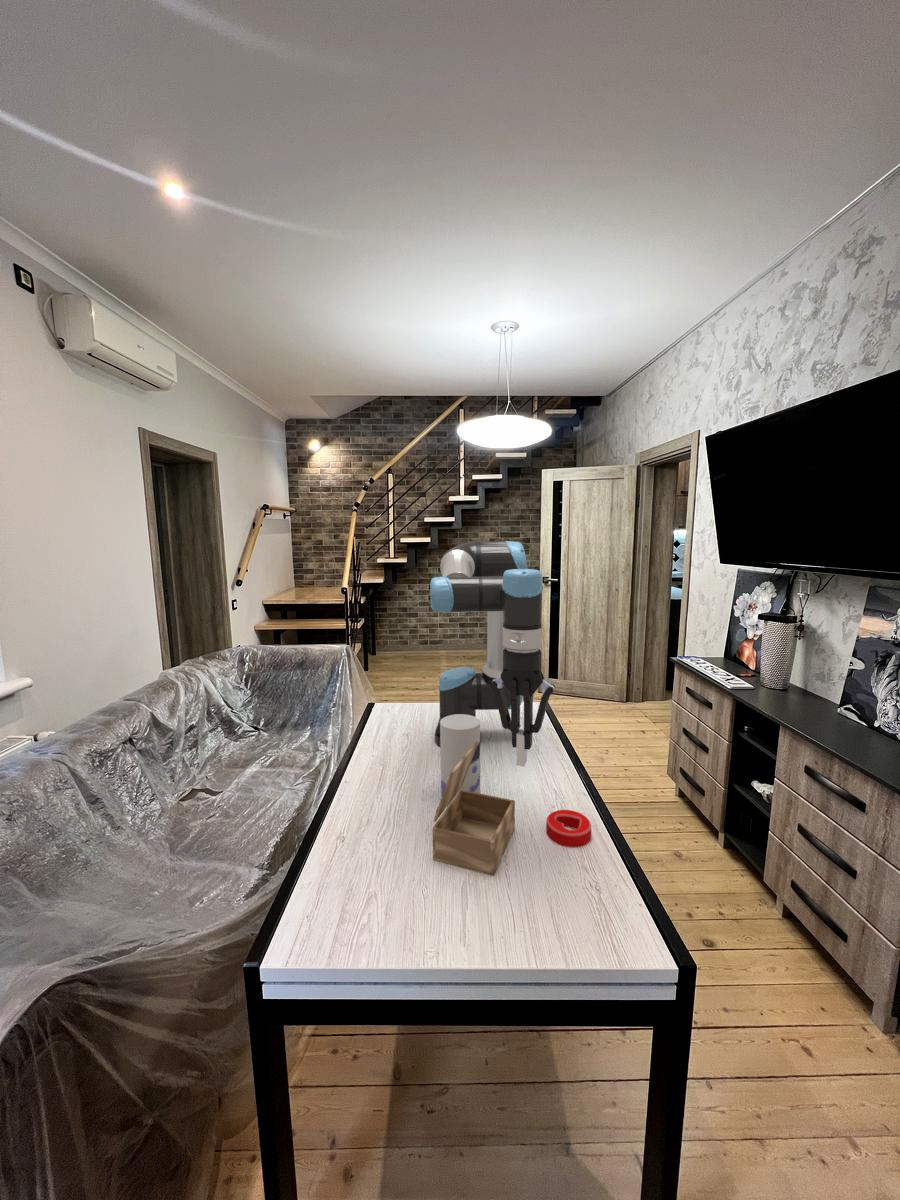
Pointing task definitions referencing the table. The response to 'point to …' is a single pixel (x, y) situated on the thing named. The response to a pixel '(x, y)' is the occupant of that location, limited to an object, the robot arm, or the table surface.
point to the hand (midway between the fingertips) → (521, 762)
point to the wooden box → (474, 831)
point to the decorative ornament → (563, 835)
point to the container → (460, 749)
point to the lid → (455, 780)
